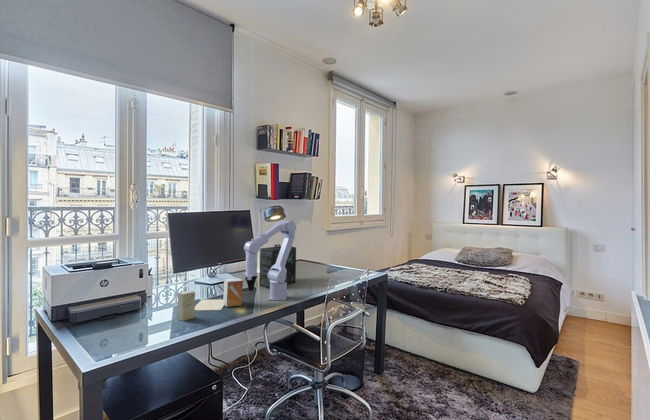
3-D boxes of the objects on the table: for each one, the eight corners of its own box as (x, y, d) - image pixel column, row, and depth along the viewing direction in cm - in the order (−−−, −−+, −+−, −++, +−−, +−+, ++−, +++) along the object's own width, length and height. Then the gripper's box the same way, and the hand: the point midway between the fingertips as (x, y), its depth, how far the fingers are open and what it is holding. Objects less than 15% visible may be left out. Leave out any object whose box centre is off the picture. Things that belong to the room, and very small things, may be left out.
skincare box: (183, 321, 147) (183, 294, 147) (177, 319, 150) (177, 292, 149) (195, 317, 153) (195, 291, 152) (189, 315, 155) (189, 289, 155)
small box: (226, 307, 166) (227, 281, 166) (222, 303, 172) (223, 278, 171) (242, 305, 171) (243, 280, 171) (238, 301, 176) (239, 277, 176)
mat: (228, 299, 179) (228, 299, 179) (220, 310, 163) (220, 309, 163) (201, 300, 178) (201, 299, 178) (191, 310, 161) (191, 310, 161)
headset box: (283, 279, 226) (283, 242, 226) (296, 282, 219) (296, 243, 219) (258, 286, 208) (259, 245, 207) (272, 289, 201) (272, 247, 200)
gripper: (245, 262, 178) (245, 286, 179) (241, 267, 164) (240, 294, 164) (259, 262, 179) (258, 286, 179) (255, 267, 164) (255, 294, 165)
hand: (251, 290), depth 172 cm, fingers closed
